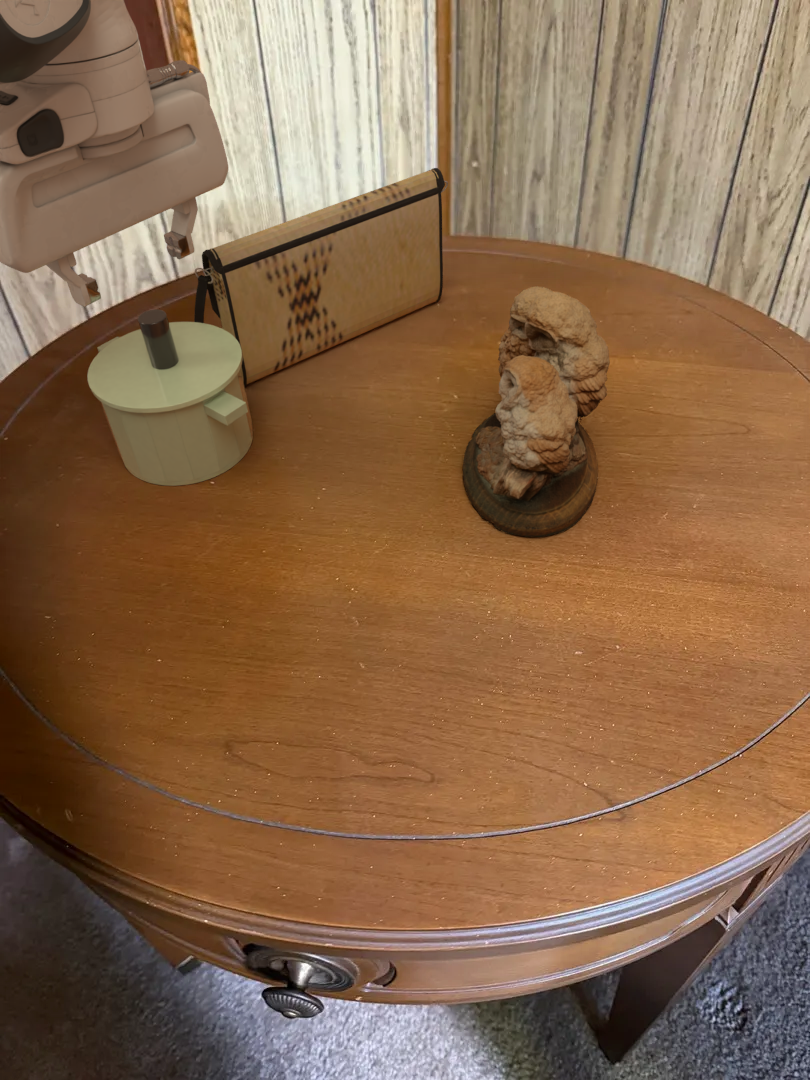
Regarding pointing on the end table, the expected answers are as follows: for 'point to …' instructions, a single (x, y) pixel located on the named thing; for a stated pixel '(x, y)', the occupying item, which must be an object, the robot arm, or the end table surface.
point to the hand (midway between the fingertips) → (136, 277)
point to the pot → (184, 437)
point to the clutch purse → (327, 274)
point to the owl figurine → (540, 419)
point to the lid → (164, 365)
